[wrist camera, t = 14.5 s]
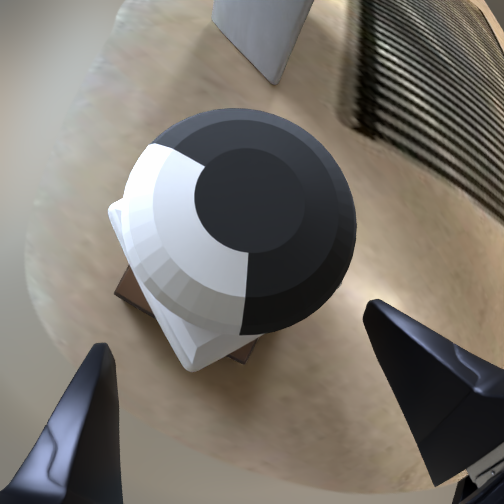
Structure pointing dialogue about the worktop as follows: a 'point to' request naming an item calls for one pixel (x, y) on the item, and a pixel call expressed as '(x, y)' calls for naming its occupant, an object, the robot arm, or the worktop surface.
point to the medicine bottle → (234, 229)
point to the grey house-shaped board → (263, 30)
